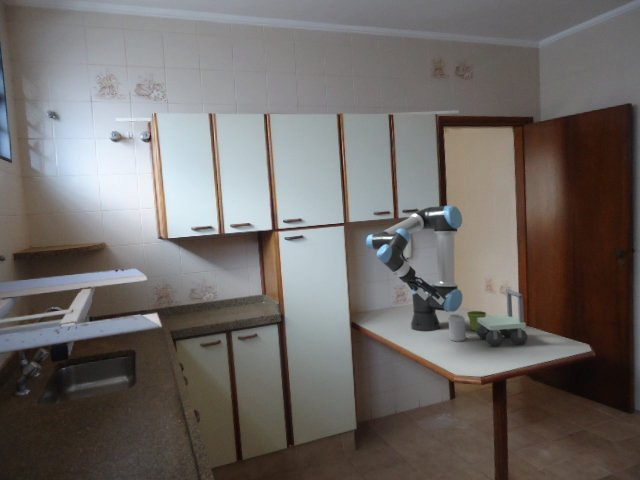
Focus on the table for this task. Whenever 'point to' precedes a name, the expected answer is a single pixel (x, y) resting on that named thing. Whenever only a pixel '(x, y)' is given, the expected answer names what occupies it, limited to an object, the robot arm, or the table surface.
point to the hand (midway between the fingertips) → (434, 300)
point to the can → (457, 327)
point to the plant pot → (475, 318)
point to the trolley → (504, 324)
